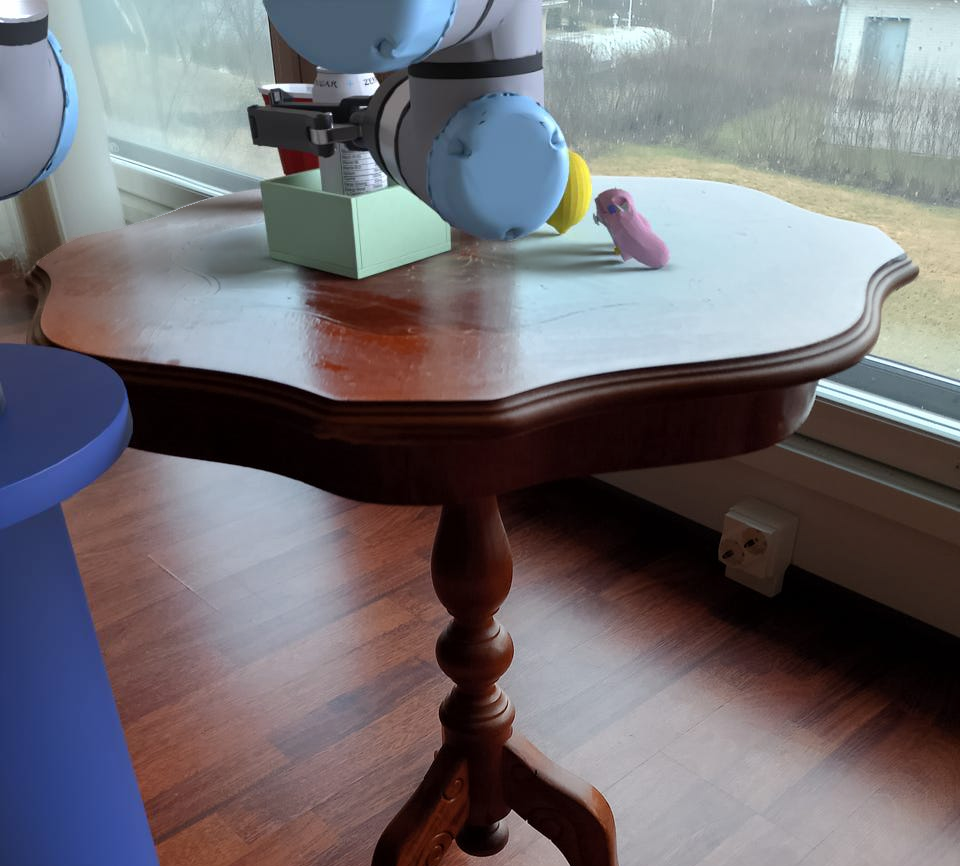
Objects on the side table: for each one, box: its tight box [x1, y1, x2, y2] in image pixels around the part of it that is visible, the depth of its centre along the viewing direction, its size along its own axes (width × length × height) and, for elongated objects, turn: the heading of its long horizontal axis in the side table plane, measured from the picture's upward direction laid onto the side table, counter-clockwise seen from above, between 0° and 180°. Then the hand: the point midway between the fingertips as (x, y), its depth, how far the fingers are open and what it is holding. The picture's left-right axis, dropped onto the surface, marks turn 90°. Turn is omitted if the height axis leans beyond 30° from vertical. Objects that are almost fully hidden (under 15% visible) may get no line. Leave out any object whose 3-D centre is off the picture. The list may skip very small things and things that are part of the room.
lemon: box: [545, 146, 593, 235], centre depth 104 cm, size 6×6×8 cm
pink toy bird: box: [592, 187, 671, 269], centre depth 97 cm, size 10×5×7 cm, turn 3°
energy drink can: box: [312, 66, 388, 197], centre depth 97 cm, size 6×6×15 cm
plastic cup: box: [257, 83, 320, 176], centre depth 116 cm, size 11×11×12 cm
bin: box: [259, 168, 452, 280], centre depth 100 cm, size 12×12×7 cm
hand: (360, 97), depth 87 cm, fingers open, 13 cm apart
